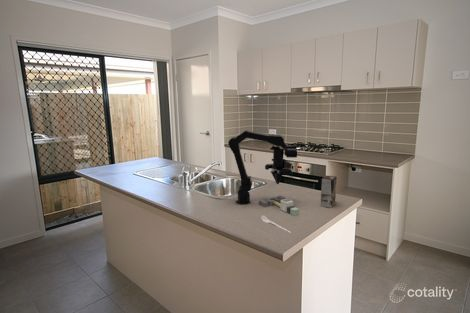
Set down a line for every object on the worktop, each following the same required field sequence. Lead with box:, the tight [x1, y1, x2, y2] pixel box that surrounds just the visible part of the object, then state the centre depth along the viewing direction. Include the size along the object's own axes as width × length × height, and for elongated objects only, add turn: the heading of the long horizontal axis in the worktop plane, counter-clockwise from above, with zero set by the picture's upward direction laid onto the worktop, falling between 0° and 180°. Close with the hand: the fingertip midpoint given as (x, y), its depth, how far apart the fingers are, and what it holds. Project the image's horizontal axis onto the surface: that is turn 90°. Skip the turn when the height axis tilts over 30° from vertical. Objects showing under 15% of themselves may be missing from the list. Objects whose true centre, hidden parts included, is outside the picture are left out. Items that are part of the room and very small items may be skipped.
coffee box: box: [320, 175, 338, 208], centre depth 162 cm, size 9×6×16 cm
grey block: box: [279, 198, 294, 213], centre depth 155 cm, size 5×5×5 cm
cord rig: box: [258, 195, 300, 216], centre depth 158 cm, size 23×16×3 cm
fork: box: [259, 215, 292, 234], centre depth 137 cm, size 3×20×2 cm, turn 36°
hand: (277, 183), depth 164 cm, fingers closed
